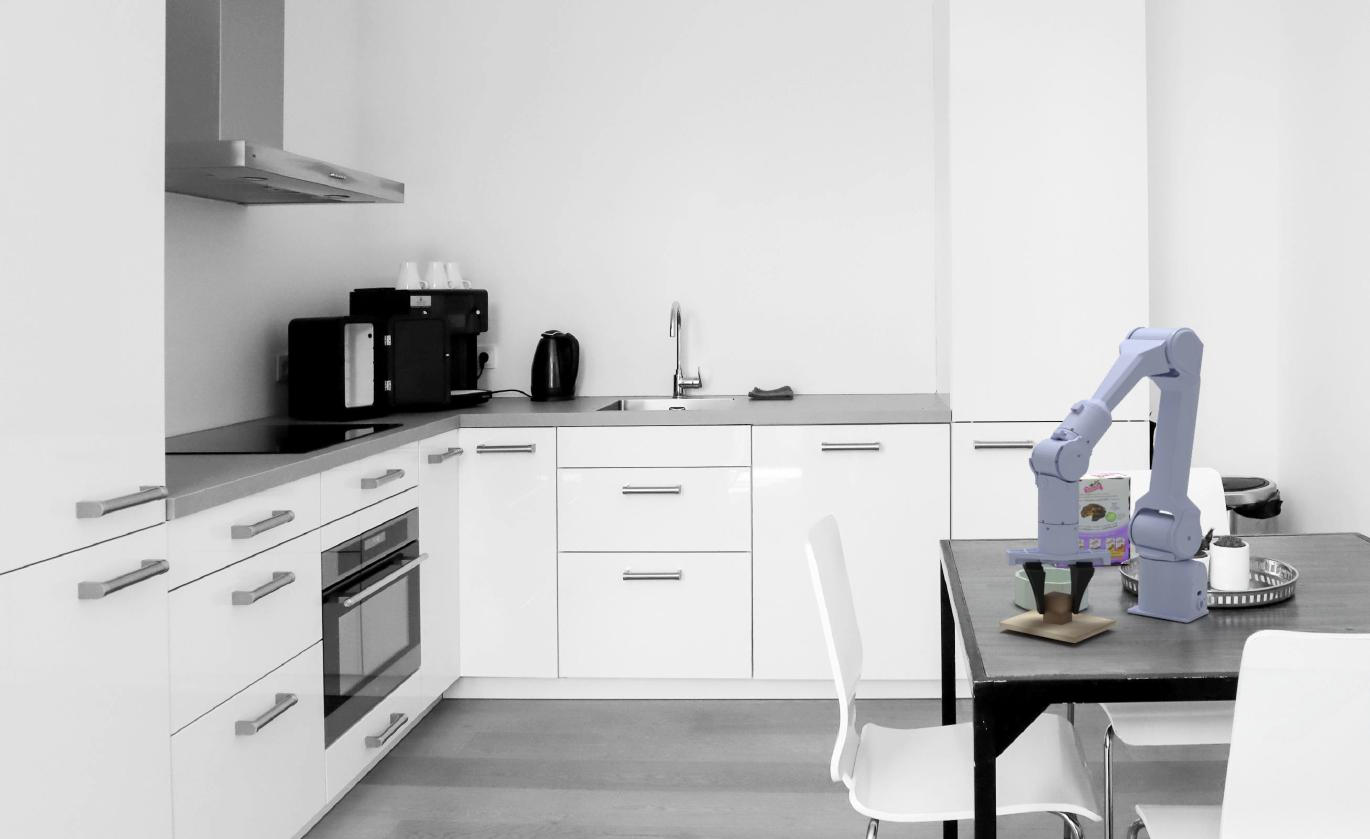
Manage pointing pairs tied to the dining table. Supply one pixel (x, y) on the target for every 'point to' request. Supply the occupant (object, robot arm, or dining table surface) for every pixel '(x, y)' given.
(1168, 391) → the robot arm
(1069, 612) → the birch lid
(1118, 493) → the candy box
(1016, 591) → the celadon bowl
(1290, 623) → the dining table surface
